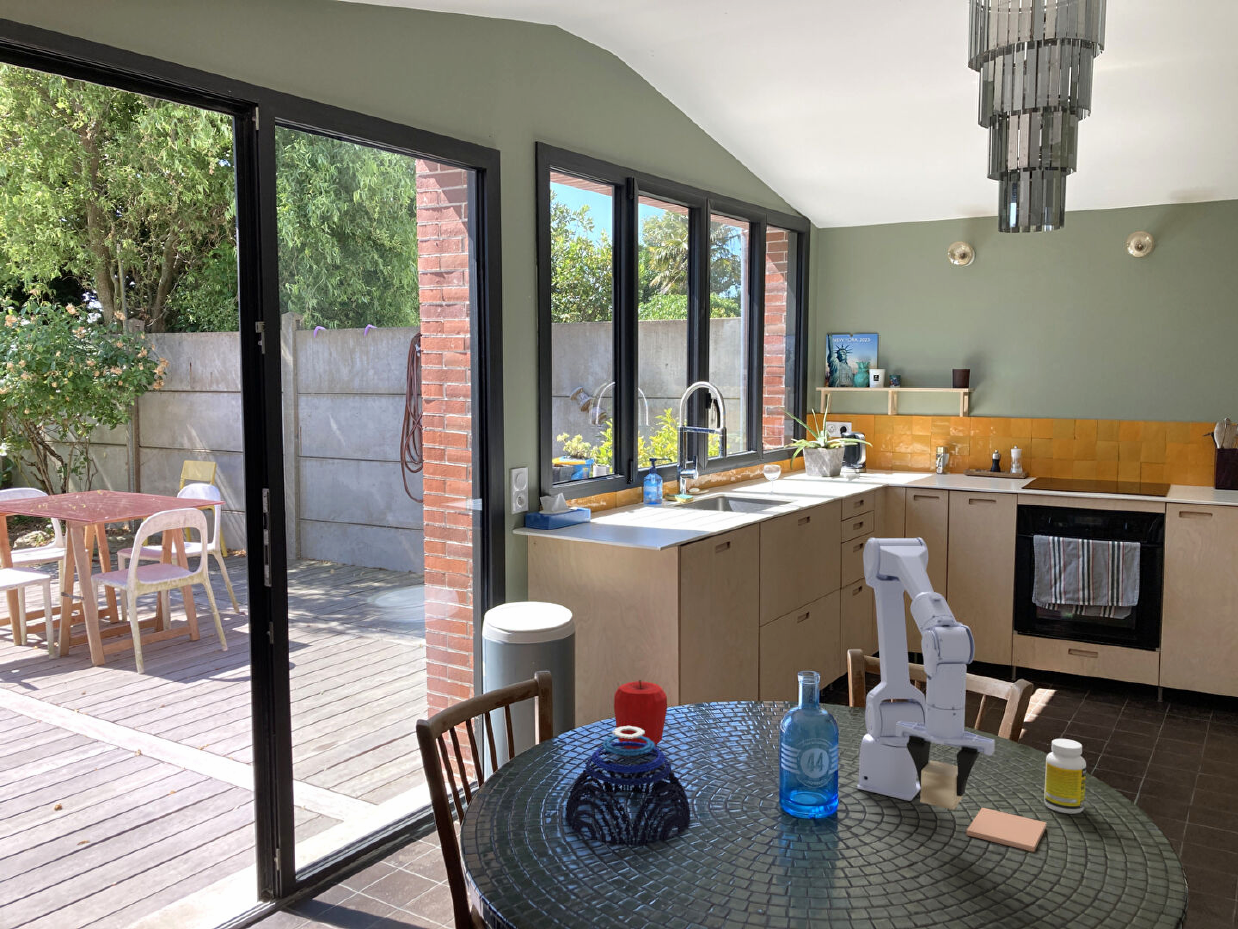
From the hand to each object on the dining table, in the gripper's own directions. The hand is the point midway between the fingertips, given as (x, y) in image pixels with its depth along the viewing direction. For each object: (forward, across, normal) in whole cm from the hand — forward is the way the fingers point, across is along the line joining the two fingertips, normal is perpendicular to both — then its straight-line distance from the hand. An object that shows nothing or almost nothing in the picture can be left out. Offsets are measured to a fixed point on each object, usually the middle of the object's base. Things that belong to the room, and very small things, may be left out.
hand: (941, 789), depth 153 cm
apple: (+9, -59, +6) cm, 60 cm away
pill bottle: (+9, +14, +25) cm, 30 cm away
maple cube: (+2, 0, 0) cm, 2 cm away
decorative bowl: (+9, -45, -20) cm, 50 cm away
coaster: (+8, +8, +10) cm, 15 cm away
